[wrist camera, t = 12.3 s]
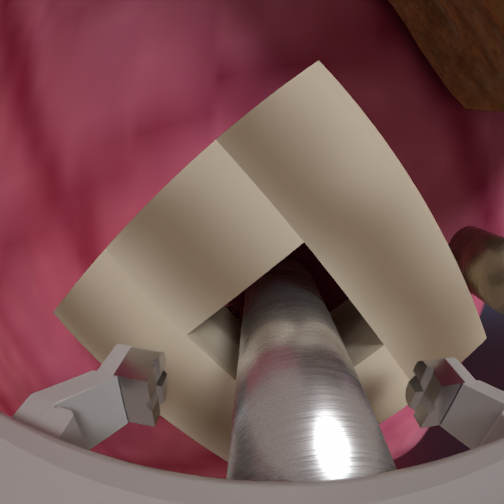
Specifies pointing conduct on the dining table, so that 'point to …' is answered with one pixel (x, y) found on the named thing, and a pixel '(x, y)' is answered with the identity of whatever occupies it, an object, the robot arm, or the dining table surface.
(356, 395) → the tall steel pin
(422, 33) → the bread
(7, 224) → the dining table surface
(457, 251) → the short bronze pin
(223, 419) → the birch block
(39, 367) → the dining table surface
